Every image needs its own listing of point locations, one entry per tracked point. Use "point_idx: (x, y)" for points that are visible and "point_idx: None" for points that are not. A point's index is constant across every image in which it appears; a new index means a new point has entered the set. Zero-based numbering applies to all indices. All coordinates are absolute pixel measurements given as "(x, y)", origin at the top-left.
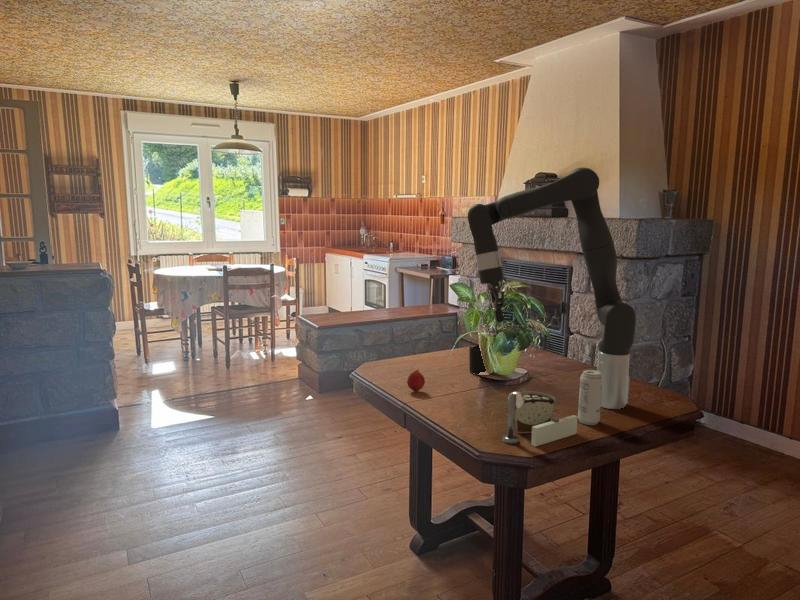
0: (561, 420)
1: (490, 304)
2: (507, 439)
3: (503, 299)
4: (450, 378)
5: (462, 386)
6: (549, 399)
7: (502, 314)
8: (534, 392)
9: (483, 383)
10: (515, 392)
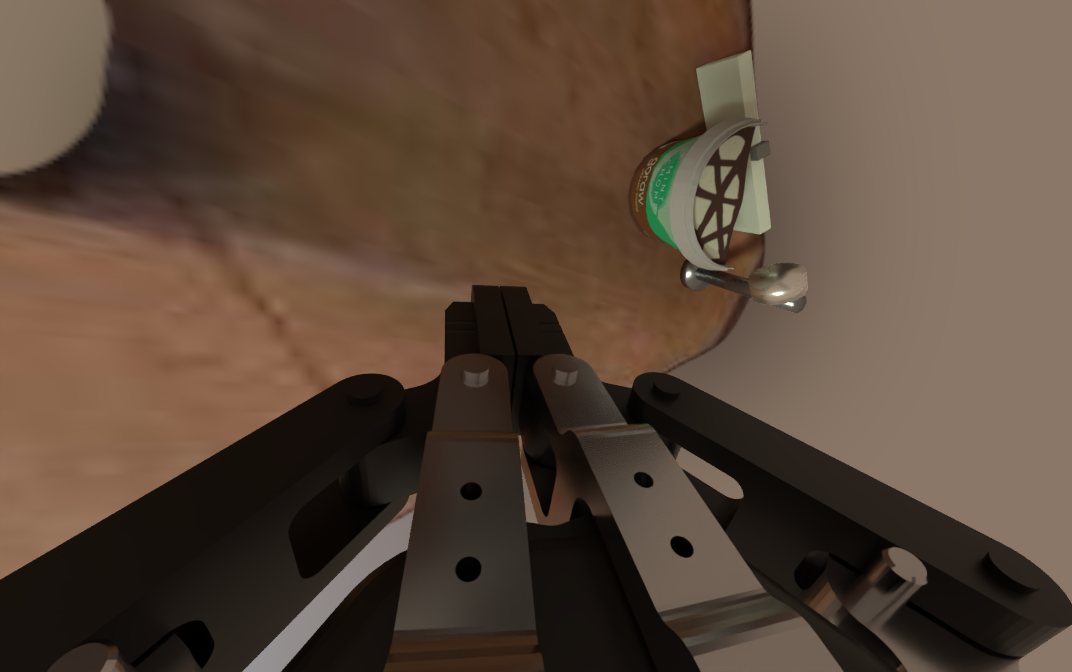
0: (756, 127)
1: (324, 535)
2: (708, 283)
3: (839, 465)
4: (42, 361)
5: (199, 320)
6: (745, 139)
7: (537, 323)
8: (699, 173)
9: (120, 207)
10: (799, 293)
